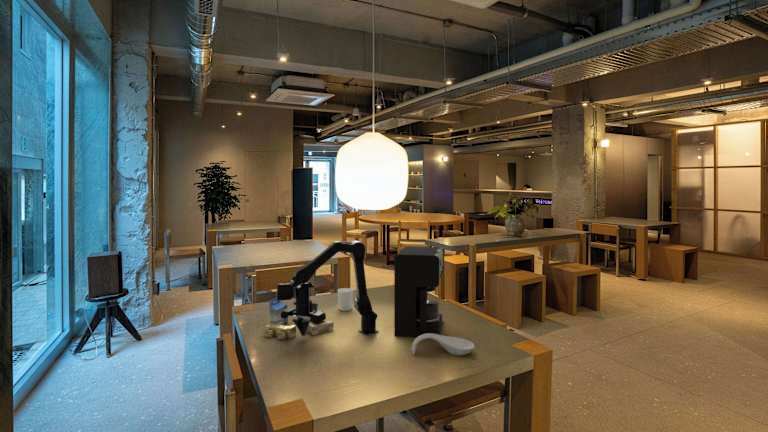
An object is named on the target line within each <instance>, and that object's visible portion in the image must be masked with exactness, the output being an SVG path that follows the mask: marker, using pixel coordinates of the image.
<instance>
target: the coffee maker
mask: <svg viewBox="0 0 768 432" xmlns="http://www.w3.org/2000/svg"><path fill="white" fill-rule="evenodd" d="M443 256H444V252H443V248H441V247H438V246H437V247H436V246H410V245H409V246H404V247H403V248H402V249H401V250H400V251H399V252H397V254H395V255H394V256H393V259H394V263H393V264H394V274H393V275H394V282H393V283H394V286H393V287H394V291H393V292H394V293H393V295H394V303H393V304H394V314H393V315H394V323H393V324H394V326H393V327H394V331H393V332H394V334H393V335H394V337H399V338H400V337H402V338H415V339H416V338H417V337H418V336H420V335H422V334H426V333H432V334H438V335H441V330H442V329H441V328H442V324H443V314H442V313H440V304H439V303H440V302H439V301H438V300H436V299H431V298H428V293H430V292H431V293H432V292H435V291H436V290H437V289H436V288H438V287H439V286H440V283H441V279H442V276H443V273H444V272H443V271H444V269H445V266H443V264H444V262H443V259H444V257H443ZM429 339H430V338H428V340H429ZM430 340H431V339H430Z"/></svg>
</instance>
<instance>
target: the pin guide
mask: <svg viewBox="0 0 768 432" xmlns="http://www.w3.org/2000/svg"><path fill="white" fill-rule="evenodd" d="M264 334H265V335H264V337H265V338H266V337H267V338H272V337H274V335H273V330H269V329H267V330H265V329H264ZM277 339H279V340H286V339H287V338H286V332H282V331H279V332H278V336H277Z"/></svg>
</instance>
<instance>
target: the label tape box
mask: <svg viewBox="0 0 768 432" xmlns="http://www.w3.org/2000/svg"><path fill="white" fill-rule="evenodd" d="M268 308H269V322H270V323H271V324H277V325H284V326H285V324H287V323H289V317H288V318H287V319H284V318H281V315H280V314H281V312H282V311H283V310H285V309H287V308H288V304H286V303H284V302H282V301H277V297H275V298H273V299H271V300H269V307H268ZM270 323H269V324H270Z"/></svg>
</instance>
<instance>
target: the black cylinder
mask: <svg viewBox="0 0 768 432" xmlns="http://www.w3.org/2000/svg"><path fill="white" fill-rule="evenodd" d="M315 312H323V310H320V309H319V310H318V309H317V311H314V310H313V312H312V314H314V313H315ZM320 323H323V321H322V322H320ZM320 323H314V322H313V324H315V325H316V324H320Z"/></svg>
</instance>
